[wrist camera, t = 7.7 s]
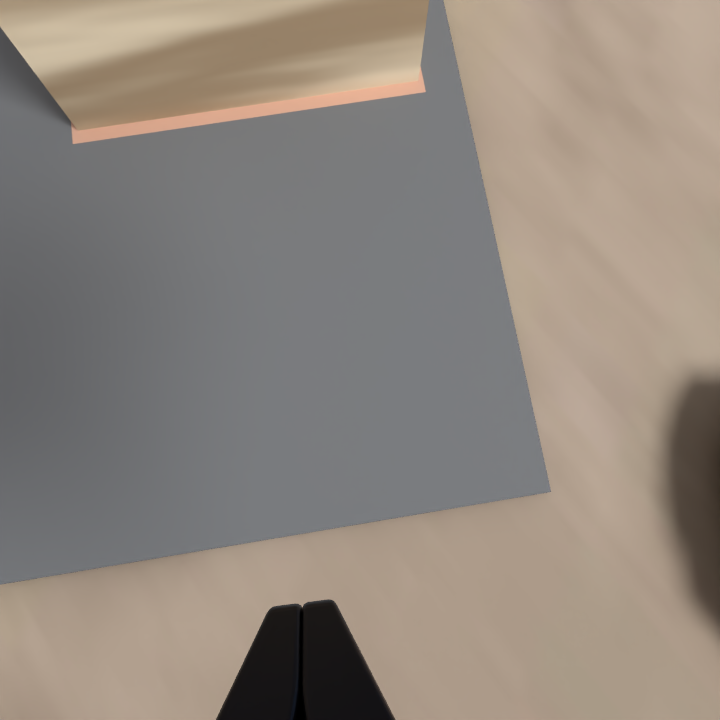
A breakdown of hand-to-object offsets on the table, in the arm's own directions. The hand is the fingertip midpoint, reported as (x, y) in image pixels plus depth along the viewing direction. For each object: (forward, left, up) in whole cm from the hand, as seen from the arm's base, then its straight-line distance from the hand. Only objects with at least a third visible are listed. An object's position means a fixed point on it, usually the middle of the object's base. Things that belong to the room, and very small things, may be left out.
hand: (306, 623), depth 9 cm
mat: (+4, +13, -12) cm, 18 cm away
